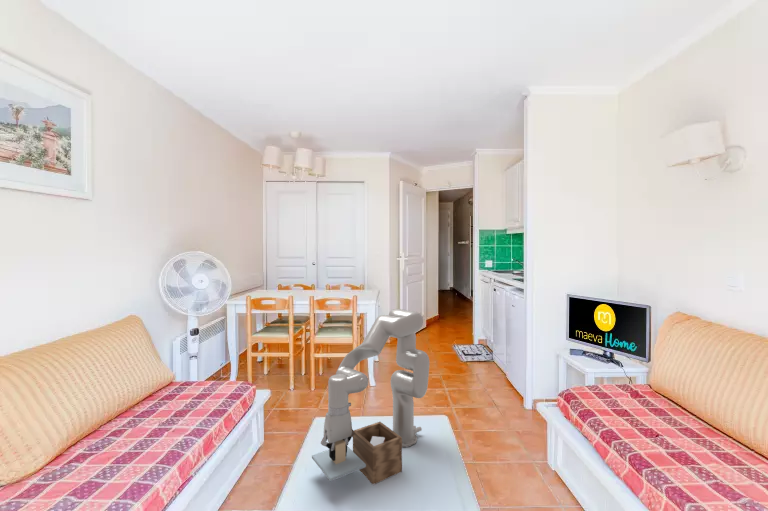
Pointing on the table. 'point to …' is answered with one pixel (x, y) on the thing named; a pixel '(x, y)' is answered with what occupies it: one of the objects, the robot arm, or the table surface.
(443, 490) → the table surface
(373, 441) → the small box
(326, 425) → the robot arm
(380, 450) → the crate
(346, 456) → the lid
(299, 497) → the table surface
